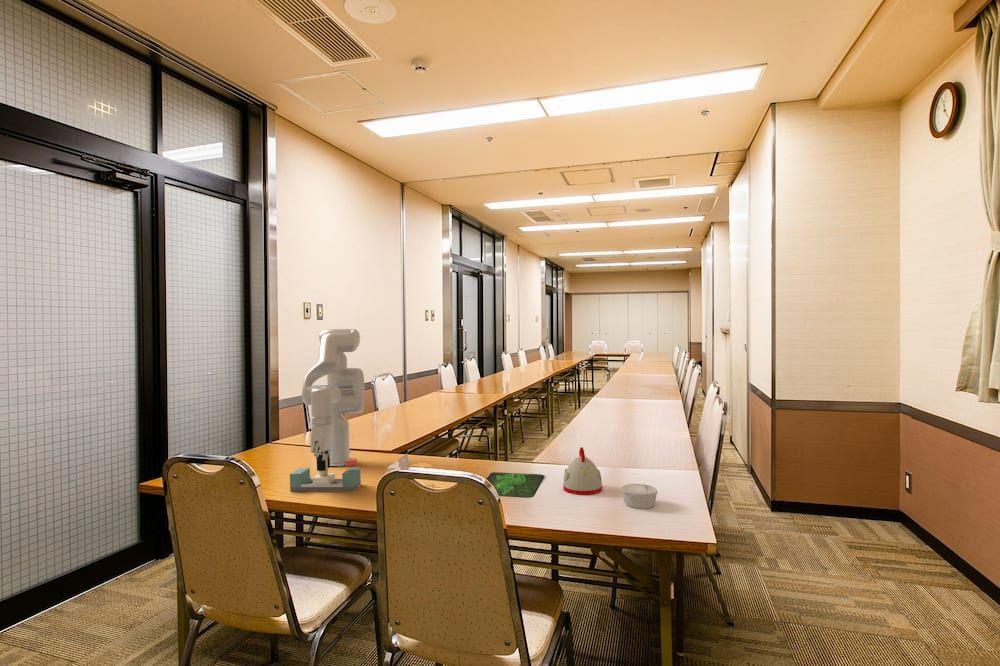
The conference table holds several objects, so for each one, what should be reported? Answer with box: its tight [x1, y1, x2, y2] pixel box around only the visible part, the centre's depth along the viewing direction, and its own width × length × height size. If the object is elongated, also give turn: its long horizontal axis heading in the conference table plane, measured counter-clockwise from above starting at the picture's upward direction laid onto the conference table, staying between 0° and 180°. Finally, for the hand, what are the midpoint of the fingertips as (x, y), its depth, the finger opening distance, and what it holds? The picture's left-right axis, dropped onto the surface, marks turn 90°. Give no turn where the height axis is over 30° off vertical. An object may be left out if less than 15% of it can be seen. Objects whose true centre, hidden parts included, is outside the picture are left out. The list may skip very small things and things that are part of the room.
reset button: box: [345, 458, 358, 468], centre depth 191 cm, size 4×4×2 cm
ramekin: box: [621, 483, 658, 510], centre depth 166 cm, size 11×11×5 cm
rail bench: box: [289, 467, 362, 492], centre depth 192 cm, size 8×24×6 cm, turn 86°
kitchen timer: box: [563, 446, 603, 496], centre depth 183 cm, size 14×14×15 cm
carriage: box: [312, 453, 336, 484], centre depth 192 cm, size 6×6×11 cm
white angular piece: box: [386, 453, 410, 473], centre depth 179 cm, size 9×5×15 cm, turn 168°
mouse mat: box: [485, 471, 545, 499], centre depth 190 cm, size 27×22×1 cm
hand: (323, 468), depth 192 cm, fingers closed on carriage, 3 cm apart
